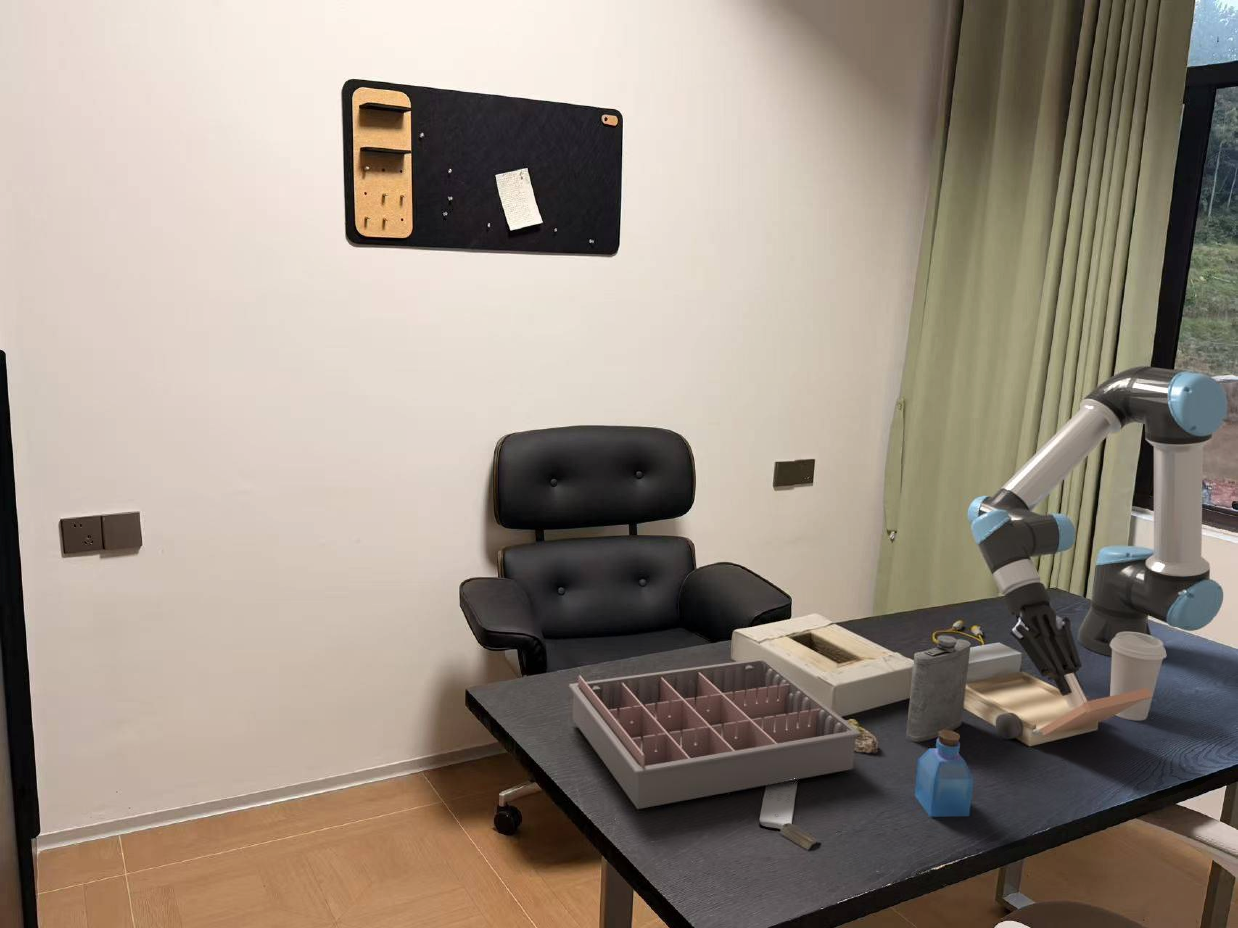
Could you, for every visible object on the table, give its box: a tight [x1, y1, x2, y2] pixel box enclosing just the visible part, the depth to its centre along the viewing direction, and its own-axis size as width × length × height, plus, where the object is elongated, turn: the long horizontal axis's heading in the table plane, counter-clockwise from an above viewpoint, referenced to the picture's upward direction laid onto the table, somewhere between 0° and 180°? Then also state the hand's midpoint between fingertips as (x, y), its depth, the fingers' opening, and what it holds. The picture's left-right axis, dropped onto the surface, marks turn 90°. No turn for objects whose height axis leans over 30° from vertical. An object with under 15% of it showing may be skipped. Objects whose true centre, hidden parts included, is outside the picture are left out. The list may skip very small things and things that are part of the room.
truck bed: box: [963, 642, 1099, 747], centre depth 186 cm, size 24×21×8 cm
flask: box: [905, 635, 972, 743], centre depth 175 cm, size 4×14×18 cm, turn 126°
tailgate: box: [1032, 688, 1154, 736], centre depth 170 cm, size 2×17×13 cm
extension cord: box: [932, 620, 986, 646], centre depth 221 cm, size 12×16×2 cm
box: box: [730, 613, 914, 718], centre depth 198 cm, size 23×8×32 cm
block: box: [779, 822, 822, 852], centre depth 143 cm, size 4×6×2 cm, turn 40°
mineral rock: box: [844, 718, 880, 754], centre depth 172 cm, size 11×4×8 cm
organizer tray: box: [568, 658, 862, 810], centre depth 166 cm, size 32×40×10 cm
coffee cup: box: [1109, 632, 1167, 722], centre depth 185 cm, size 10×10×15 cm
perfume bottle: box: [914, 730, 974, 818], centre depth 151 cm, size 6×6×12 cm
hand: (1081, 711), depth 171 cm, fingers closed
